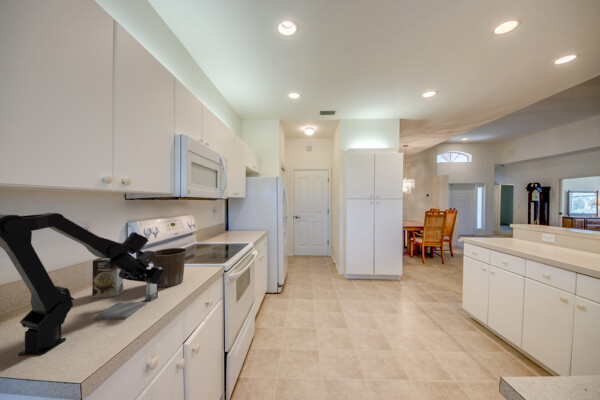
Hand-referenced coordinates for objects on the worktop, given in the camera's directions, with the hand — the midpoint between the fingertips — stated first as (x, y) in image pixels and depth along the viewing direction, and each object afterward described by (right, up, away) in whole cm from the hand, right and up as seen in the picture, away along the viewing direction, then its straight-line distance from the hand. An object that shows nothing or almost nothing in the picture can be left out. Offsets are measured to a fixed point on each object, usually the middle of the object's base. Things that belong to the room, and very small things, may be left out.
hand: (154, 282), depth 94 cm
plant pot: (-4, -7, +16) cm, 18 cm away
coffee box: (-23, -7, +3) cm, 24 cm away
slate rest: (-5, -7, -12) cm, 14 cm away
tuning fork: (0, -7, -1) cm, 7 cm away
